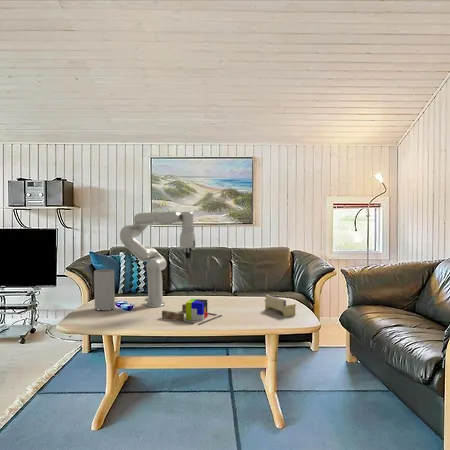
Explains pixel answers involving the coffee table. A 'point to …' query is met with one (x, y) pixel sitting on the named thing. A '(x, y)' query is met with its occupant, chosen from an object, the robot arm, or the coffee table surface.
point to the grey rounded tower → (104, 289)
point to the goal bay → (204, 321)
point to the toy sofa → (279, 305)
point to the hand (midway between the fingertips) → (188, 258)
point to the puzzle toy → (196, 309)
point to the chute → (174, 314)
